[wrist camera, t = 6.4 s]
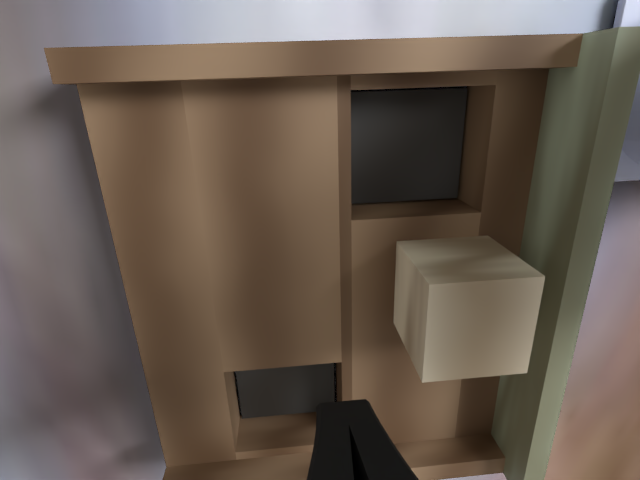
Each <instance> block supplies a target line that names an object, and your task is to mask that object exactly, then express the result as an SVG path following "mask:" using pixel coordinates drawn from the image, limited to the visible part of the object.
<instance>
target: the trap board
mask: <svg viewBox="0 0 640 480" xmlns="http://www.w3.org/2000/svg"><path fill="white" fill-rule="evenodd" d="M44 50H45V54H46V58H47V62H48V66H49V70H50V74H51V78H52V82H53V84H76V85H77V89H78V93H79V97H80V102H81V106H82V110H83V114H84V119H85V123H86V127H87V131H88V136H89V140H90V144H91V148H92V153H93V157H94V161H95V165H96V169H97V174H98V178H99V182H100V186H101V191H102V195H103V199H104V203H105V208H106V212H107V216H108V220H109V225H110V229H111V233H112V237H113V242H114V246H115V250H116V254H117V259H118V263H119V267H120V271H121V276H122V280H123V284H124V288H125V293H126V297H127V301H128V305H129V310H130V314H131V318H132V322H133V327H134V331H135V335H136V339H137V344H138V348H139V352H140V356H141V361H142V365H143V369H144V373H145V378H146V382H147V386H148V390H149V395H150V399H151V403H152V407H153V412H154V416H155V420H156V424H157V429H158V433H159V437H160V441H161V446H162V450H163V454H164V458H165V463H166V470H165V474H164V477H163V480H307V476H308V471H309V466H310V461H311V457H312V452H313V446H314V439H315V432H316V418H317V416H316V406H318V405H319V404H320V403H326V402H335V392H334V363H336V397H337V401H349V400H360V399H366V400H367V401H369V402H370V404H371V406H372V408H373V410H374V412H375V414H376V416H377V417H378V419H379V421H380V423H381V424H382V426H383V428H384V429H385V431H386V432H387V434H388V436H389V437H390V439H391V440H392V442H393V444H394V445H395V447H396V448H397V450H398V451H399V452H400V454H401V455H402V457H403V458H404V460H405V461H406V462H407V464H408V465H409V467H410V468H411V470H412V471H413V472H414V474H415V475H416V476H417V478H418V479H419V480H439V479H448V478H457V477H466V476H476V475H485V474H494V473H504V475H505V477H506V479H507V480H544V478H545V473H546V469H547V465H548V461H549V456H550V452H551V448H552V444H553V439H554V435H555V431H556V427H557V422H558V418H559V414H560V410H561V405H562V401H563V397H564V393H565V388H566V384H567V380H568V376H569V371H570V367H571V363H572V359H573V354H574V350H575V346H576V342H577V337H578V333H579V329H580V325H581V321H582V316H583V312H584V308H585V304H586V299H587V295H588V291H589V287H590V282H591V278H592V274H593V270H594V265H595V261H596V257H597V253H598V248H599V244H600V240H601V236H602V231H603V227H604V223H605V219H606V214H607V210H608V206H609V202H610V197H611V193H612V189H613V185H614V180H615V176H616V172H617V168H618V163H619V159H620V155H621V151H622V146H623V142H624V138H625V134H626V129H627V125H628V121H629V117H630V113H631V108H632V104H633V100H634V96H635V91H636V87H637V83H638V79H639V74H640V26H636V27H616V28H611V29H605V30H600V31H594V32H589V33H584V34H549V35H512V36H474V37H437V38H400V39H362V40H325V41H288V42H251V43H213V44H176V45H139V46H102V47H64V48H44ZM453 86H467V88H453V89H425V90H398V91H370V92H351V90H370V89H398V88H425V87H453ZM472 236H489V237H491V238H492V239H494V240H495V241H496V242H498V243H499V244H501V245H502V246H503V247H505V248H506V249H508V250H509V251H510V252H512V253H513V254H515V255H516V256H517V257H519V258H520V259H522V260H523V261H524V262H526V263H527V264H529V265H530V266H532V267H533V268H534V269H536V270H537V271H539V272H540V273H541V274H543V275H544V276H545V281H544V286H543V292H542V297H541V302H540V308H539V313H538V318H537V323H536V329H535V334H534V339H533V345H532V350H531V355H530V361H529V366H528V371H527V373H523V374H512V375H501V376H490V377H479V378H468V379H457V380H446V381H435V382H424V383H422V381H421V379H420V377H419V375H418V373H417V371H416V369H415V367H414V365H413V362H412V360H411V358H410V356H409V354H408V352H407V350H406V348H405V346H404V344H403V342H402V339H401V337H400V335H399V333H398V331H397V329H396V327H395V325H394V323H393V321H394V295H395V270H396V244H397V241H410V240H426V239H441V238H457V237H472ZM234 371H236V377H237V385H238V392H239V399H240V407H241V414H242V415H240V409H239V402H238V395H237V387H236V380H235V373H234Z"/></svg>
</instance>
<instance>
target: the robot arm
mask: <svg viewBox="0 0 640 480" xmlns="http://www.w3.org/2000/svg"><path fill="white" fill-rule="evenodd" d="M636 26H640V0H619V1H618V6H617V11H616V15H615V20H614V25H613V28H616V27H636ZM635 180H640V74H639V79H638V83H637V87H636V91H635V96H634V100H633V104H632V108H631V113H630V117H629V121H628V125H627V129H626V134H625V138H624V142H623V146H622V151H621V155H620V159H619V163H618V168H617V172H616V176H615V180H614V182H617V181H635ZM316 416H317V418H316V432H315V439H314V446H313V452H312V457H311V461H310V466H309V471H308V476H307V480H419V479H418V478H417V476H416V475H415V474H414V472H413V471H412V470H411V468H410V467H409V465H408V464H407V462H406V461H405V460H404V458H403V457H402V455H401V454H400V452H399V451H398V450H397V448H396V447H395V445H394V444H393V442H392V440H391V439H390V437H389V436H388V434H387V432H386V431H385V429H384V428H383V426H382V424H381V423H380V421H379V419H378V417H377V416H376V414H375V412H374V410H373V408H372V406H371V404H370V402H369V401H367V400H366V399H360V400H349V401H337V402H326V403H320V404H319V405H318V406H316Z"/></svg>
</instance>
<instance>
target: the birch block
mask: <svg viewBox="0 0 640 480" xmlns="http://www.w3.org/2000/svg"><path fill="white" fill-rule="evenodd" d="M544 281H545V276H544V275H543V274H541V273H540V272H539V271H537V270H536V269H534V268H533V267H532V266H530V265H529V264H527V263H526V262H524V261H523V260H522V259H520V258H519V257H517V256H516V255H515V254H513V253H512V252H510V251H509V250H508V249H506V248H505V247H503V246H502V245H501V244H499V243H498V242H496V241H495V240H494V239H492V238H491V237H489V236H472V237H457V238H441V239H426V240H410V241H397V244H396V270H395V295H394V321H393V323H394V325H395V327H396V329H397V331H398V333H399V335H400V337H401V339H402V342H403V344H404V346H405V348H406V350H407V352H408V354H409V356H410V358H411V360H412V362H413V365H414V367H415V369H416V371H417V373H418V375H419V377H420V379H421V381H422V383H424V382H435V381H446V380H457V379H468V378H479V377H490V376H501V375H512V374H523V373H527V371H528V366H529V361H530V355H531V350H532V345H533V339H534V334H535V329H536V323H537V318H538V313H539V308H540V302H541V297H542V292H543V286H544Z"/></svg>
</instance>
